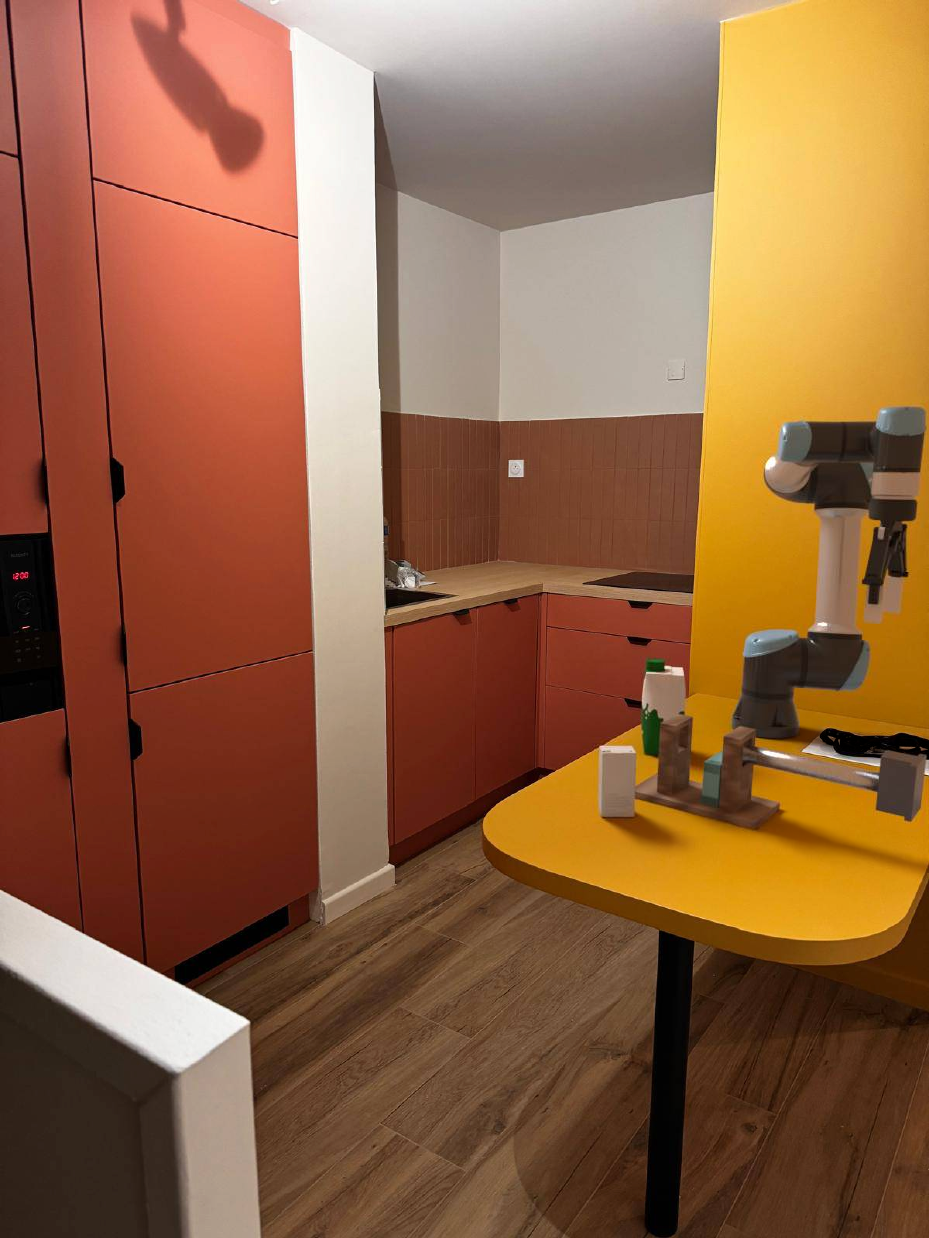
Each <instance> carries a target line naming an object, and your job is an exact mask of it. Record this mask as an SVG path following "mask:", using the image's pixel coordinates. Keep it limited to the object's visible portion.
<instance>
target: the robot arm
mask: <svg viewBox="0 0 929 1238" xmlns="http://www.w3.org/2000/svg"><path fill="white" fill-rule="evenodd" d="M926 420H927V412H926V409H925V408H923V407H921V406H888V407H886V406H885V407H883V408H880V409H879V411H878V415H877V420H876V421H875V420H874V421H873V420H871V421H870V420H869V421H868V420H867V421H861V420H860V421H858V420H857V421H813V420H812V421H811V420H810V421H808V420H807V421H806V420H798V421H786V422H784V423H783V424H782V425H781V427H780V430H779V435H778V446H777V448H778V449H777V450H778V451H777V452H776V453H774V454H773V455H772V456H771V457H770V458H769V459H768V461H767V462H766V464H765V465H764V469H763V479H764V483H765V486H766V487H767V488H768V490H769V491H770V492H771V493H772V494H774V495H775V496H777V497H779V498H780V499H783V500H785V501H788V502H791V503H797V504H807V505H809V504H812V505H814V506H813V512H814V514H815V515H816V516H817V517H818V519H820V520H819V521H820V524H819V525H820V526H819V528H820V530H819V546H818V547H819V549H818V564H817V578H816V579H817V581H816V583H817V584H816V596H815V597H816V599H815V600H816V602H815V617H814V623H813V625H812V626H810V627H809V628H808V629H807V633H806V634H807V635H806V637H800V635H799V632H798V631H796V630H792V629H767V630H760V631H755V632H753V633H751V634H749V635H748V636H747V637H746V638H745V641H744V649H743V652H742V656H743V665H742V678H741V691H740V696H739V699H738V700H737V703H736V706H735V708H734V711H733V713H732V716H731V721H730V722H731V723H730V726H731V728H732V729H733V730H734V729H736V728H738V727H739V726H742V727H747V728H752V729H756V737H758V738H766V739H788V738H792V737H795V736H797V735H799V732H800V719H799V717H798V716H799V715H798V712H797V709H796V705H795V700H794V698H795V697H794V696H795V695H794V694H795V693H794V692H795V689H810V690H811V689H812V690H825V691H836V692H840V691H845V692H846V691H848V692H851V691H857V690H859V689H860V687H861V686H862V685H863V683H864V681H865V680H866V677H867V674H868V670H869V665H870V660H871V644H870V643H869V642H868V641H867V640H865V639H863V632H862V631H861V630H860V629H859V628H858V626H857V625H856V624H857V607H858V605H857V604H858V591H859V589H858V588H859V572H860V571H859V570H860V569H859V568H860V552H861V538H862V537H861V536H862V520H863V519H864V518H865V517H866V516H867V515H868V519H870V520H871V521H880V522H879V523H880V524H879V526H874V528H873V530H872V532H873V535H872V542H871V546H870V551H869V555H868V559H867V564H866V569H865V573H864V577H863V578H862V579H861V584H862V585H866V593H865V602H864V603H865V605H864V614H863V622H864V623H871V624H877V625H879V624H882V620H883V613H892V614H900V613H901V604H902V603H901V602H902V594H903V584H904V578H908V577H909V574H910V573H909V572H910V571H908V568H907V567H908V566H907V560H908V559H907V557H908V556H907V533H908V532H907V531H908V530H907V529H908V524H907V523H903V522H914V521H915V520H916V518H917V511H918V509H917V508H918V501H917V499H916V498H915V497H918V496H919V494H920V485H921V484H920V483H921V476H922V475H921V470H922V469H921V468H922V460H923V451H924V444H925V443H924V441H925V435H926V433H925V432H926V430H927V425H926V422H927V421H926ZM887 575H888V576H887Z"/></svg>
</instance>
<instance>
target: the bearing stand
mask: <svg viewBox="0 0 929 1238" xmlns="http://www.w3.org/2000/svg"><path fill="white" fill-rule="evenodd" d="M693 722H694V716H690V715H687V714H686V715H681V714H677V715H675V716H673V717H671V718H669V719H667V720H665V721H663V722H661V723H660V740H659V755H658V760H657V761H658V762H657V773H655V774H652V775H651V776H650V777H648V778H647V779H645V780H643V781H642V782H640V783H638V784H636V785H635V799H640V800H643V801H647V802H650V803H655V804H658V805H660V806H661V805H662V806H666V807H669V808H673V809H676V810H681V811H684V812H686V813H687V812H688V813H691V814H694V815H699V816H703V817H706V818H710V819H714V820H717V821H721V822H725V823H728V824H732V825H735V826H738V827H739V826H740V827H743V828H746V829H751V830H754V831H757V829H758V828H760V827H761V826H762V825H763V824H764V823H765V822H766V821H768V819H770V818H771V817H772V816H773V815H774V814H775V813H776V812H777V811H779V810H780V807H781V806H780V805H781V802H780V801H777V800H771V799H768V798H765V797H760V796H756V795H752V794H753V793H752V791H753V780H754V779H753V777H754V766H755V765H753V764H748V763H744V762H742V761H743V747H744V744H746V745H751V746H756V737H757V736H756V729H752V728H747V727H742V726H739V727H738V728H736V729H733V730H731V731H730V732H727V733H726V734H725V735H723V740H722V741H723V742H722V751H723V753H722V768H721V783H720V798H719V808H714V807H710V806H706V805H702V804H701V801H702V785H703V782H699V781H694V780H690V774H691V757H692V743H693V742H692V741H693V724H694V723H693Z"/></svg>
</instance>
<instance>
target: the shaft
mask: <svg viewBox="0 0 929 1238" xmlns="http://www.w3.org/2000/svg"><path fill="white" fill-rule="evenodd" d="M742 762H744V763H748V764H753V765H754V766H757V767H758V766H759V767H763V768H767V769H772V770H776V771H780V772H785V773H789V774H793V775H799V776H802V777H808V778H813V779H817V780H821V781H825V782H829V783H834V784H839V785H843V786H847V787H851V788H852V787H853V788H857V789H862V790H865V791H870V792H874V793H876V803H875V811H876V812H877V811H878V812H882V813H886V814H891V815H895V816H898V817H904V819H903V820H904V821H906V822H909V823H912V821H913V820H914V818H915V817H916V816H917V815H918V813H919V812H920V810H921V809H922V799H923V791H924V790H923V789H924V784H925V783H924V782H925V773H926V764H927V754H924V753H923V754H922V753H919V754H918V755H913V754H910V753H909V754H908V753H902V752H898V751H893V750H886V751H885V752H884V753H883V754H882V755H881V756H880V762H879V763H880V764H879V771H874V770H870V769H869V770H868V769H865V768H859V767H856V766H855V767H854V766H850V765H845V764H841V763H835V762H832V761H827V760H822V759H817V758H813V757H806V756H802V755H799V754H793V753H790V752H783V751H779V750H773V749H770V748H765V747H760V746H756V745H755V746H751V745H746V744H744V747H743V761H742Z"/></svg>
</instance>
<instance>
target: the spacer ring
mask: <svg viewBox="0 0 929 1238" xmlns="http://www.w3.org/2000/svg"><path fill="white" fill-rule="evenodd" d="M722 753H723V750H720V751H719V752H717V753H714V755H712V756H711V757H710V758H709V757H708V759H706V760H705V761H703V769H702V770H703V771H702V772H703V773H702V783H703V785H702V801H701V804H702V805H706V806H710V807H714V808H719V798H720V783H721V768H722Z"/></svg>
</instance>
